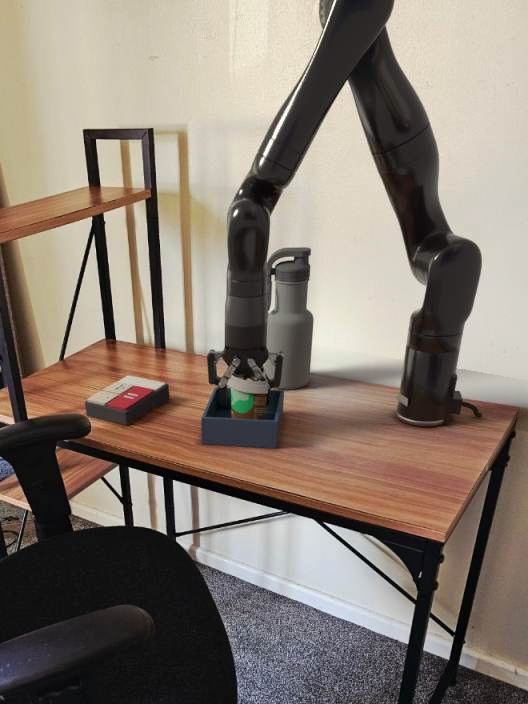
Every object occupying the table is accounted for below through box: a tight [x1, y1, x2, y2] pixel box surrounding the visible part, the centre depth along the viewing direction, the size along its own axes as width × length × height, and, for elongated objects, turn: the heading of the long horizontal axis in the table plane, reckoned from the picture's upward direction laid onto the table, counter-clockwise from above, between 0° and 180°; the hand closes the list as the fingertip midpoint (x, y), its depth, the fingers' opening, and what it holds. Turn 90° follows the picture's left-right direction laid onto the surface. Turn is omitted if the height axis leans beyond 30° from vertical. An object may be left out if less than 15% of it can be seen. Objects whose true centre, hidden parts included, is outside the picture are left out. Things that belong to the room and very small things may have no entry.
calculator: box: [84, 374, 170, 426], centre depth 147 cm, size 11×4×15 cm
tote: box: [200, 386, 285, 449], centre depth 135 cm, size 14×15×5 cm
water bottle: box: [264, 246, 315, 390], centre depth 148 cm, size 10×10×28 cm
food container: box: [226, 373, 268, 420], centre depth 133 cm, size 12×6×10 cm, turn 6°
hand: (244, 405), depth 133 cm, fingers closed on food container, 7 cm apart
